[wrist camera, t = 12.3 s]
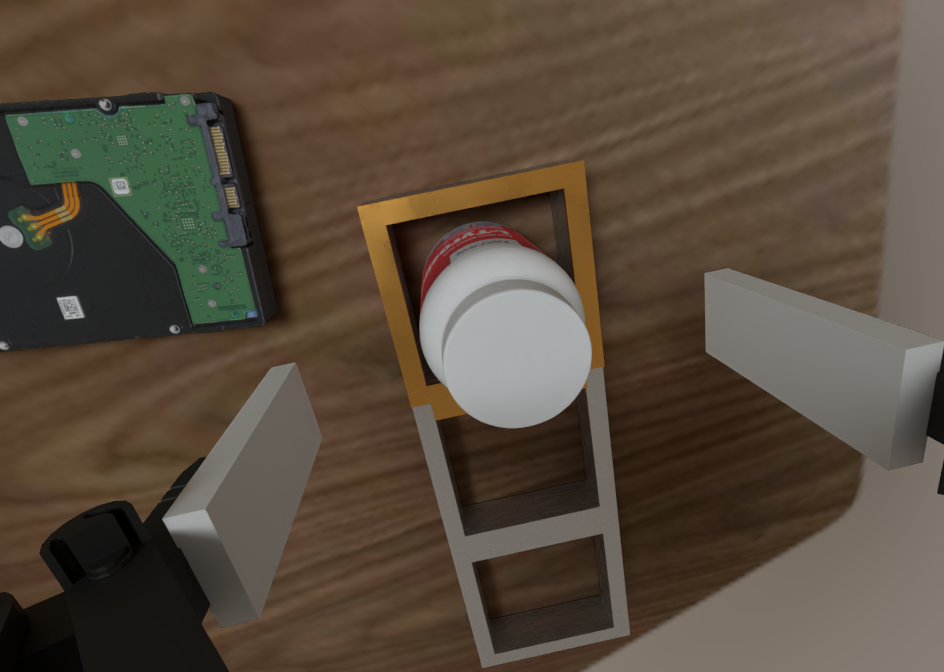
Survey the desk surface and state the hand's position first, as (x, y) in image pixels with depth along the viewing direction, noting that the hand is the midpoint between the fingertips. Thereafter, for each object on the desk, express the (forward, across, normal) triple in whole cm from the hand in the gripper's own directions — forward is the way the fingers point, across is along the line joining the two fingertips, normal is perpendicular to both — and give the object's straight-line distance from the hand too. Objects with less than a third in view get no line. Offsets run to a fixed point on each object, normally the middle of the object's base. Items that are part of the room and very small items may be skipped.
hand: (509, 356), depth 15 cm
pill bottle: (+11, 0, 0) cm, 11 cm away
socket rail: (+10, +1, -10) cm, 14 cm away
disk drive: (+11, -17, +6) cm, 21 cm away
